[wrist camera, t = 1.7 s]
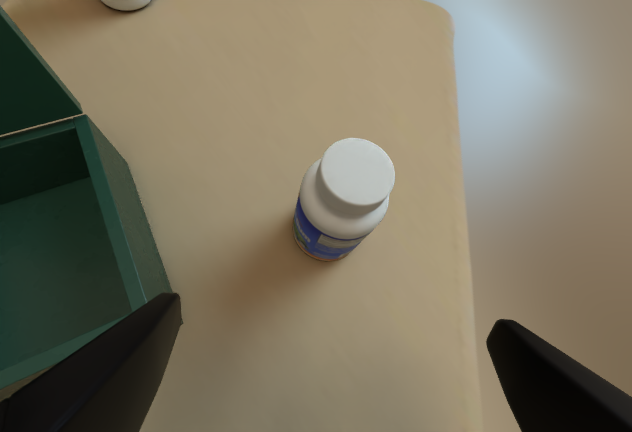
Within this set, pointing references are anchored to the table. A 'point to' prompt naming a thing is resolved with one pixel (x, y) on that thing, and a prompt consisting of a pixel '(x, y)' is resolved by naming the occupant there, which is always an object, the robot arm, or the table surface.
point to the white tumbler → (126, 4)
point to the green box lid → (28, 84)
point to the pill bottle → (342, 198)
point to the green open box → (67, 246)
